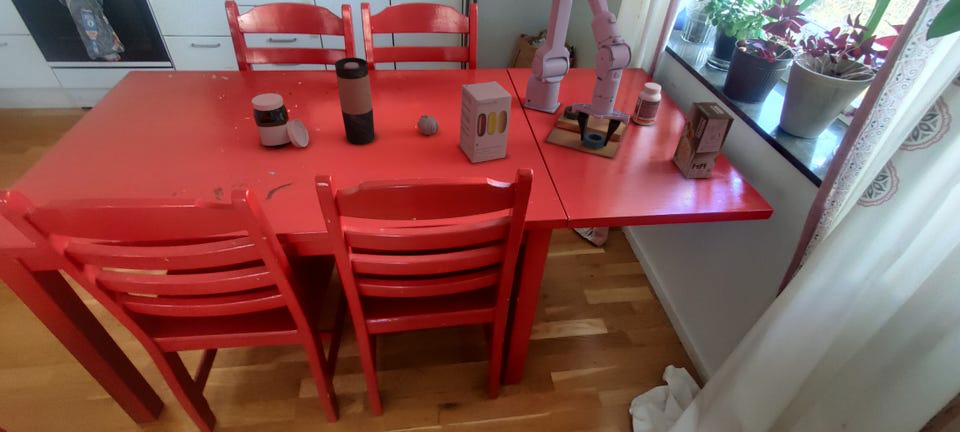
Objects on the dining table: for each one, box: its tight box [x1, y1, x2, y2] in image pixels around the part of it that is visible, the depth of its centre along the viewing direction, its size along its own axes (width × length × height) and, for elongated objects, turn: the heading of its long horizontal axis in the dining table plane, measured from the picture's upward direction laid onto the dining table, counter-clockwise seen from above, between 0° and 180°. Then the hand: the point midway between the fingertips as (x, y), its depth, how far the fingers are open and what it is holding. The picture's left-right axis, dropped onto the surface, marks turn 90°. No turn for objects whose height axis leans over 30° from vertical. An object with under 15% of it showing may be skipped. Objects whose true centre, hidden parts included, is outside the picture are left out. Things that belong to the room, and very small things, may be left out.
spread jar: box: [251, 92, 310, 150], centre depth 113 cm, size 12×11×12 cm
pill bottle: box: [632, 82, 662, 126], centre depth 133 cm, size 6×6×11 cm
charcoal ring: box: [563, 105, 578, 121], centre depth 132 cm, size 6×6×2 cm
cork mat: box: [545, 128, 619, 159], centre depth 124 cm, size 18×8×1 cm, turn 66°
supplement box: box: [459, 80, 513, 164], centre depth 113 cm, size 10×9×17 cm
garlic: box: [417, 114, 440, 136], centre depth 123 cm, size 6×5×5 cm
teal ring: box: [583, 132, 606, 149], centre depth 122 cm, size 6×6×2 cm
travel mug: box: [334, 57, 375, 146], centre depth 114 cm, size 8×8×20 cm
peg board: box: [555, 110, 627, 142], centre depth 130 cm, size 18×10×6 cm, turn 66°
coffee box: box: [672, 101, 735, 179], centre depth 112 cm, size 9×6×16 cm
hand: (593, 141), depth 122 cm, fingers closed on teal ring, 5 cm apart
